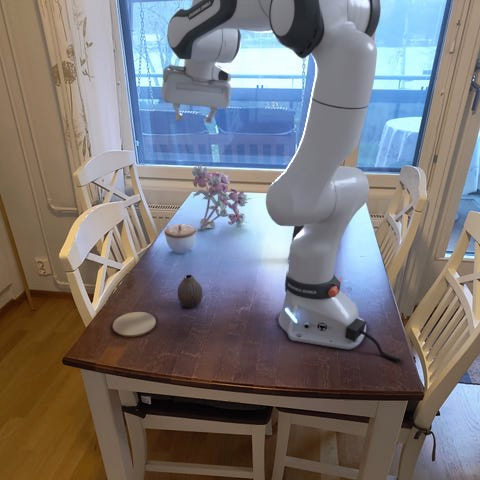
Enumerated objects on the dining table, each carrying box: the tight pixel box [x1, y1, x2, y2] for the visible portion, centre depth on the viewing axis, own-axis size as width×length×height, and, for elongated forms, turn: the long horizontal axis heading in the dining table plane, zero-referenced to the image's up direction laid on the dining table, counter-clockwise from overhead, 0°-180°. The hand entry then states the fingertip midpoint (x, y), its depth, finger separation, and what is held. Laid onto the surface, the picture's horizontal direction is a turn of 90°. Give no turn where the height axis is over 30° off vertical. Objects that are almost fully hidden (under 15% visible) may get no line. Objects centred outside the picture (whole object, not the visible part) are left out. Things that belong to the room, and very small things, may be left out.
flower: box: [191, 163, 252, 232], centre depth 164 cm, size 20×22×25 cm
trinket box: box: [164, 223, 197, 255], centre depth 148 cm, size 11×11×9 cm
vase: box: [176, 274, 204, 309], centre depth 117 cm, size 7×7×9 cm
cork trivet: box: [112, 311, 157, 338], centre depth 111 cm, size 11×11×1 cm
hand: (193, 121), depth 126 cm, fingers open, 8 cm apart
